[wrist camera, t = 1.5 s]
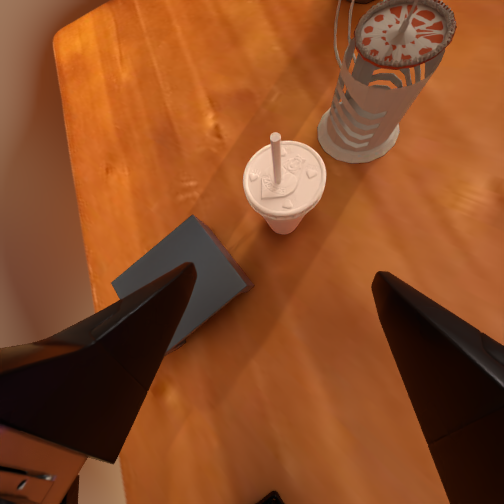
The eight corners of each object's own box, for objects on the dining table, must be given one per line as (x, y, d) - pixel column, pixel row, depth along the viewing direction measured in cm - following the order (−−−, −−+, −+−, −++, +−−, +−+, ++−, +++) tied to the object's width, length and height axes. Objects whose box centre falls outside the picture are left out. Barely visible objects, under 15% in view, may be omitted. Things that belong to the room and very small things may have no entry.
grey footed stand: (254, 285, 23) (247, 285, 18) (179, 348, 23) (154, 362, 18) (208, 226, 25) (192, 214, 21) (140, 283, 25) (110, 282, 21)
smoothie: (248, 222, 24) (202, 141, 11) (282, 187, 24) (279, 61, 11) (285, 255, 23) (286, 209, 9) (321, 217, 23) (375, 116, 9)
